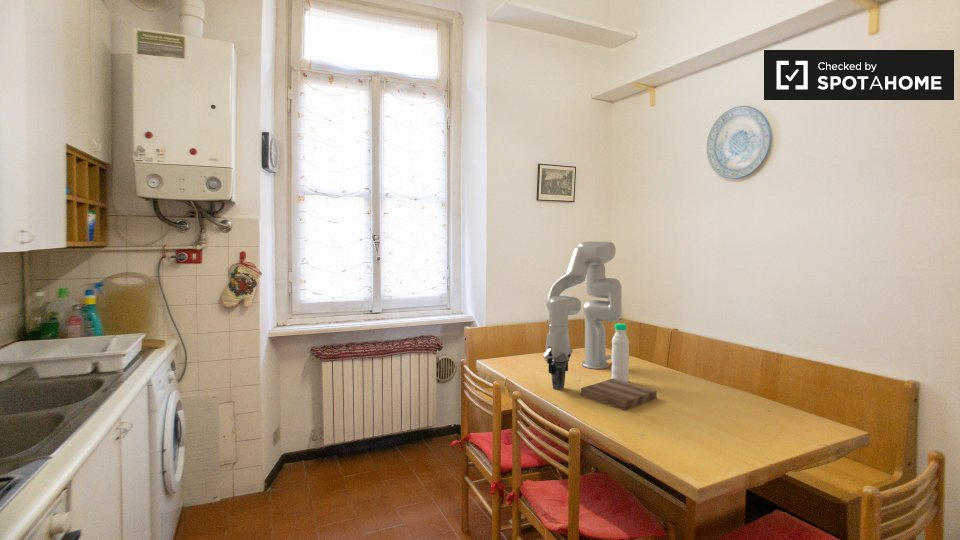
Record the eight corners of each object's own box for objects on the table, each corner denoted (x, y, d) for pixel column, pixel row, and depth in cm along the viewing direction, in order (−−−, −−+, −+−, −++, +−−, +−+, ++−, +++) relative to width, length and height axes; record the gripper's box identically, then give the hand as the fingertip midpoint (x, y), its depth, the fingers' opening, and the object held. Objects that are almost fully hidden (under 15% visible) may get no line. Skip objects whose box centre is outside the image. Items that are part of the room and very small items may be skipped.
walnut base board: (613, 385, 192) (613, 378, 192) (656, 398, 176) (656, 390, 176) (581, 395, 180) (581, 388, 180) (624, 410, 164) (624, 402, 164)
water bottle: (610, 383, 195) (611, 324, 193) (612, 378, 201) (612, 322, 199) (628, 385, 192) (628, 326, 190) (629, 380, 199) (630, 323, 197)
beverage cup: (566, 385, 193) (566, 338, 192) (568, 391, 186) (568, 341, 184) (548, 384, 194) (549, 337, 192) (549, 390, 187) (549, 341, 185)
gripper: (566, 325, 196) (566, 366, 198) (536, 330, 186) (536, 373, 187) (579, 327, 190) (579, 370, 192) (549, 333, 180) (549, 378, 181)
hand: (558, 371), depth 189 cm, fingers closed on beverage cup, 6 cm apart
